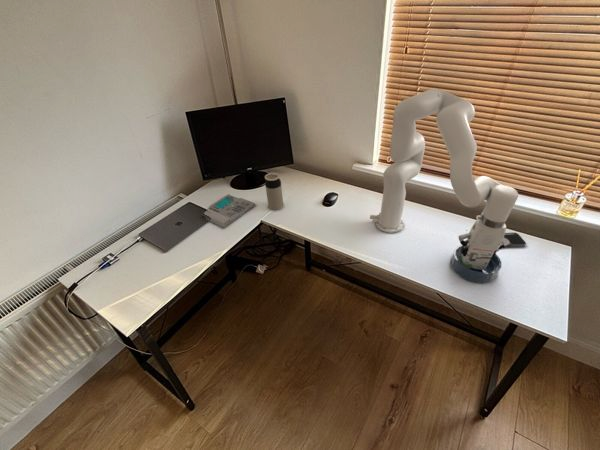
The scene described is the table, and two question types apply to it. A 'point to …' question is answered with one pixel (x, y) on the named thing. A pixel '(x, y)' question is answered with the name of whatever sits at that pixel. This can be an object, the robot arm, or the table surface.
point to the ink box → (477, 258)
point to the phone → (514, 240)
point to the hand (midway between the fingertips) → (476, 255)
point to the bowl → (475, 274)
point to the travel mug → (274, 191)
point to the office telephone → (228, 210)
